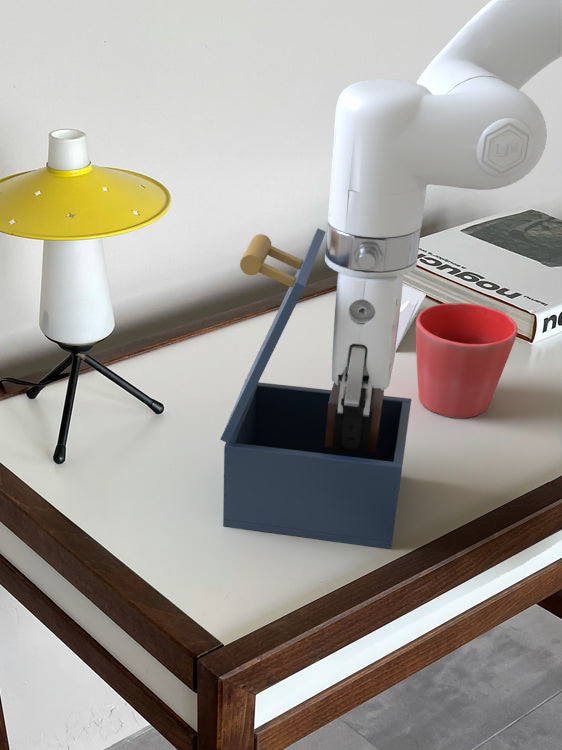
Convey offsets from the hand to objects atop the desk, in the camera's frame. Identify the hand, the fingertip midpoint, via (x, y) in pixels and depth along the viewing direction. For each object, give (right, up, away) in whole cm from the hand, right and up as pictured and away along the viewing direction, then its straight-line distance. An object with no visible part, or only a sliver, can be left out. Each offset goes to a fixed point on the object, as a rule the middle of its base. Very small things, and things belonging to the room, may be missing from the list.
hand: (353, 434), depth 93 cm
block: (0, 0, 0) cm, 0 cm away
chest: (-3, -6, +5) cm, 8 cm away
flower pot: (+15, +5, +21) cm, 26 cm away
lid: (-7, +8, -4) cm, 12 cm away
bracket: (+10, +16, +37) cm, 42 cm away
